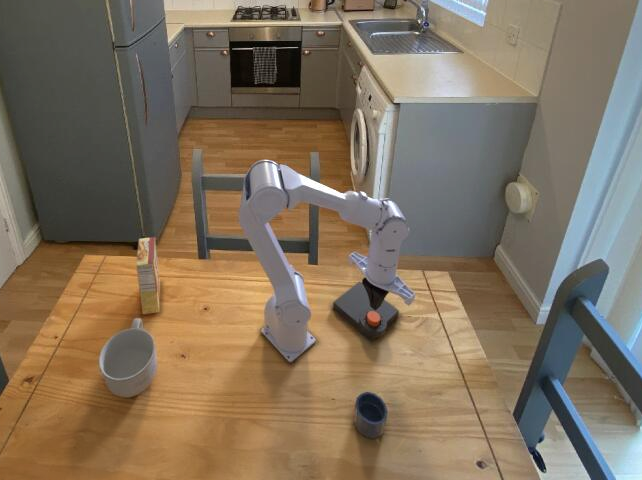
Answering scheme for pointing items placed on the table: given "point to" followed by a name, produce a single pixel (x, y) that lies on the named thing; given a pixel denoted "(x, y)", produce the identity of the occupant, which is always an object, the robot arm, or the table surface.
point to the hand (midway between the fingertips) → (375, 306)
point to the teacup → (129, 361)
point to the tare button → (373, 319)
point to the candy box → (148, 275)
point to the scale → (364, 311)
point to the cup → (370, 415)
